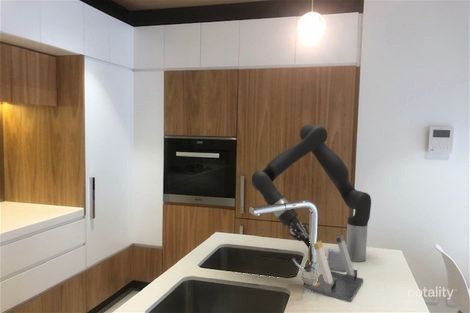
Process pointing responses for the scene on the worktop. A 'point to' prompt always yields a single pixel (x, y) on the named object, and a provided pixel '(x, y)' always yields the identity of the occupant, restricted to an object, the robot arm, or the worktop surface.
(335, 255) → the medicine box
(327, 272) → the white rocker
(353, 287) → the switch panel
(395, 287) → the worktop surface
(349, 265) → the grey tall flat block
